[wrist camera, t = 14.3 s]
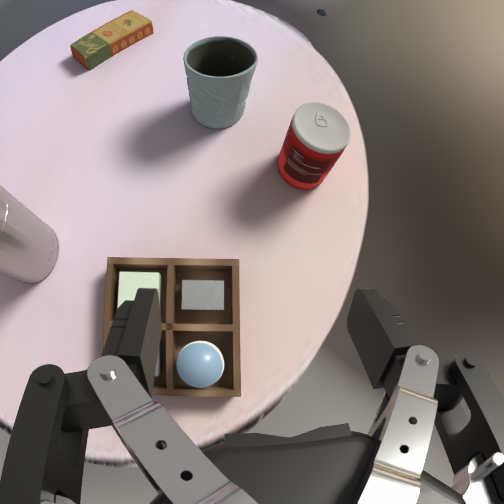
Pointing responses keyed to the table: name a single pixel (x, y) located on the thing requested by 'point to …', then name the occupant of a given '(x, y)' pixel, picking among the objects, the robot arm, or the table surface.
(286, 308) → the table surface
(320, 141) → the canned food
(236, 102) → the green cup
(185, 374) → the glue stick
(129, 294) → the note block
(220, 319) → the organizer
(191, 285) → the grey rectangular block
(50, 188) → the table surface
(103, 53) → the carton
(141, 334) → the robot arm
